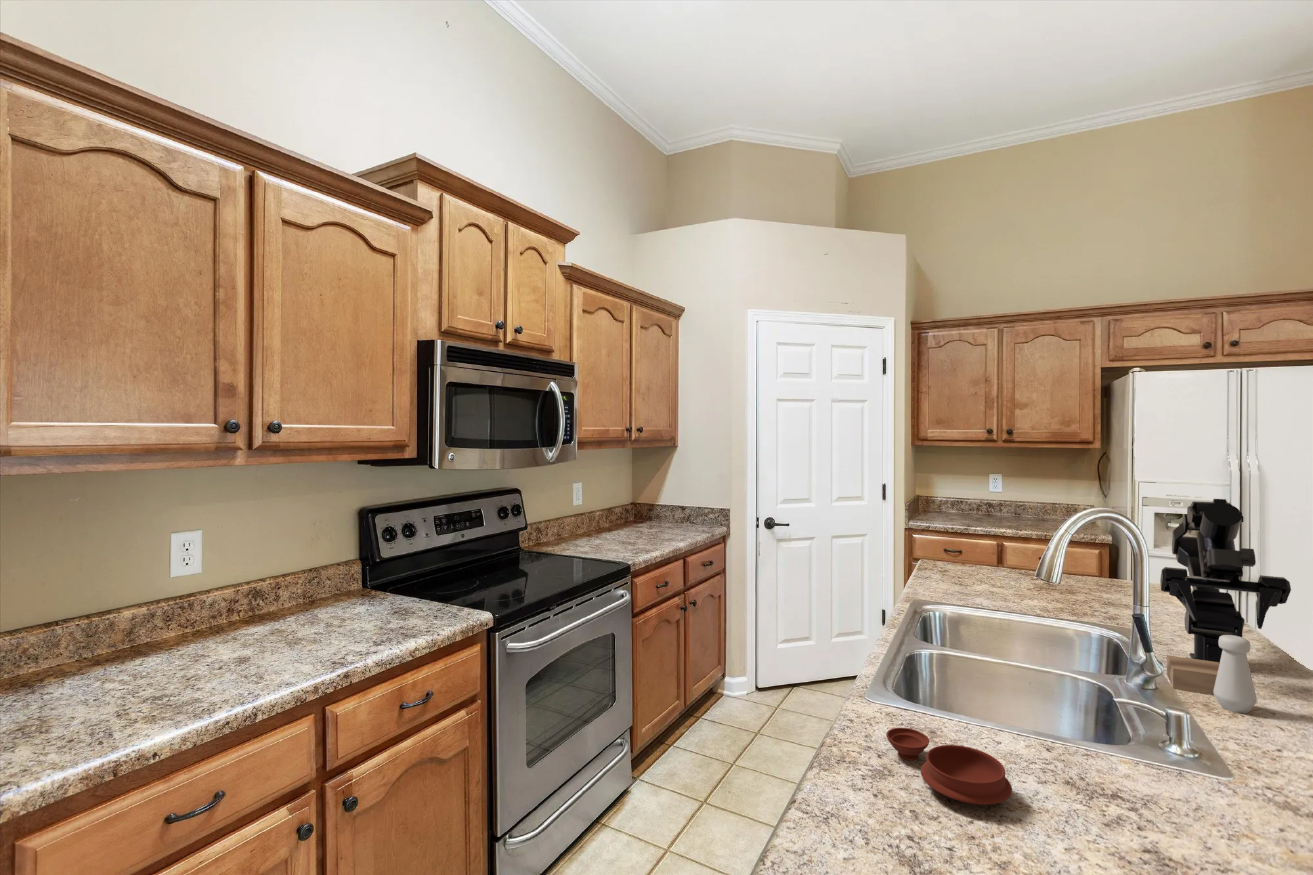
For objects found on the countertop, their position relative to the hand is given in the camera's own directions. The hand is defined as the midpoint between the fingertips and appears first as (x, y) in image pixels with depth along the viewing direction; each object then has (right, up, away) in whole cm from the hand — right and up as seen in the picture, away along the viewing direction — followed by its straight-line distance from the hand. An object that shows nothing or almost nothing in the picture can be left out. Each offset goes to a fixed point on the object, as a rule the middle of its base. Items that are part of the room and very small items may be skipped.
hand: (1227, 623), depth 119 cm
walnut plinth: (-3, -13, +4) cm, 14 cm away
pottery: (-66, -16, -26) cm, 73 cm away
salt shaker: (-4, -14, -6) cm, 15 cm away
